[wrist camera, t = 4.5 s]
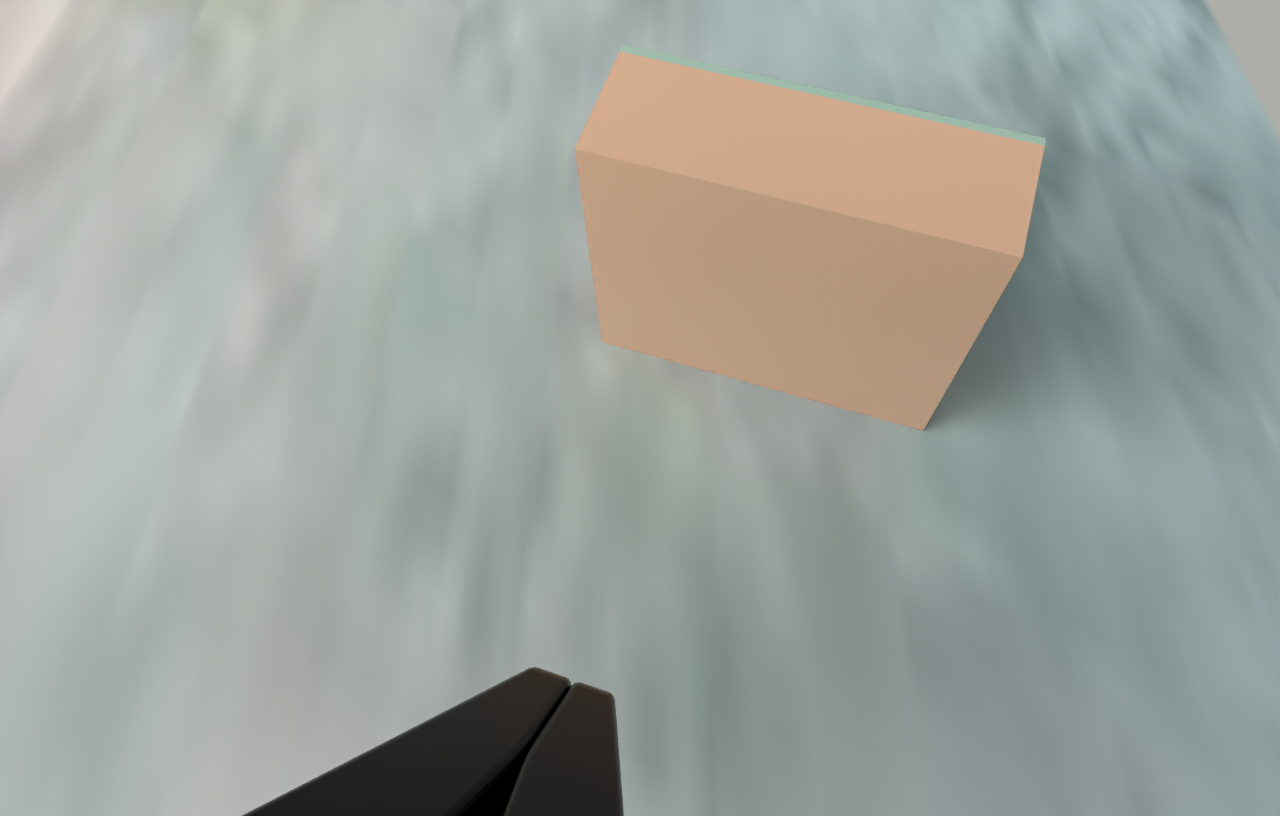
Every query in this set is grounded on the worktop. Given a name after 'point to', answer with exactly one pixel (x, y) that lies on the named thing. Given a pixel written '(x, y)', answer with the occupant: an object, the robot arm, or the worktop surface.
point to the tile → (798, 231)
